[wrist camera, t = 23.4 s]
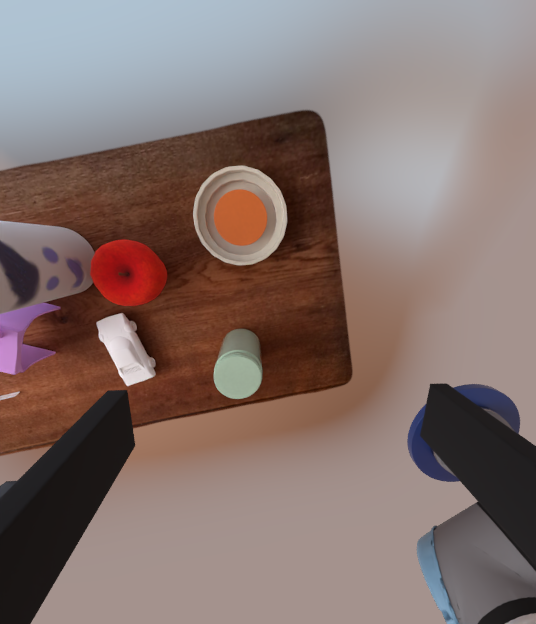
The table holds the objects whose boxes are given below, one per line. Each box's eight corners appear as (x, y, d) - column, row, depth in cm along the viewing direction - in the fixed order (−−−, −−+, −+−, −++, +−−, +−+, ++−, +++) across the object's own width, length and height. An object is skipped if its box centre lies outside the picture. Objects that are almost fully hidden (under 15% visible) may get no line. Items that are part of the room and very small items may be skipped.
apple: (185, 260, 38) (169, 264, 31) (161, 307, 40) (140, 322, 33) (131, 228, 37) (99, 224, 29) (107, 279, 38) (72, 287, 31)
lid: (238, 179, 36) (237, 176, 34) (277, 217, 37) (278, 215, 35) (205, 221, 37) (202, 220, 35) (244, 256, 38) (243, 256, 37)
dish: (300, 204, 37) (304, 201, 35) (257, 278, 40) (257, 281, 37) (224, 153, 35) (221, 144, 32) (183, 235, 38) (177, 234, 35)
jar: (267, 339, 43) (272, 369, 32) (248, 370, 44) (247, 407, 34) (233, 321, 41) (227, 346, 31) (215, 353, 43) (203, 387, 32)
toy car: (129, 308, 40) (118, 314, 37) (161, 371, 43) (154, 382, 40) (97, 319, 40) (84, 326, 37) (132, 381, 43) (123, 392, 40)
